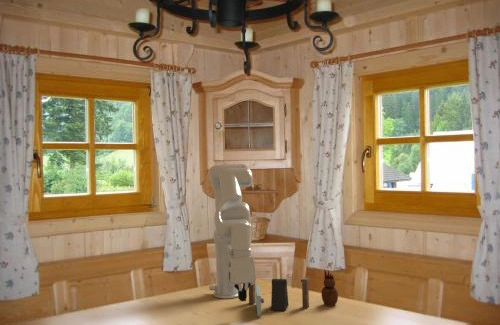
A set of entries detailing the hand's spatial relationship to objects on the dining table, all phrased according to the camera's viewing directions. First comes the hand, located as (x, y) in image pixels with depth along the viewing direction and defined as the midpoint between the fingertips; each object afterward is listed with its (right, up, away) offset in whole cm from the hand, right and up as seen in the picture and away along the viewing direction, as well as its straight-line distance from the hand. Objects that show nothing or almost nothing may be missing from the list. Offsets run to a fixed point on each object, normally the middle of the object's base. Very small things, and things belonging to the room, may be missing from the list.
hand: (242, 300), depth 203 cm
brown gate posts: (+15, -7, +18) cm, 24 cm away
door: (+7, -6, +10) cm, 14 cm away
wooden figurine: (+37, -6, +16) cm, 41 cm away
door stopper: (+15, -7, +14) cm, 22 cm away
